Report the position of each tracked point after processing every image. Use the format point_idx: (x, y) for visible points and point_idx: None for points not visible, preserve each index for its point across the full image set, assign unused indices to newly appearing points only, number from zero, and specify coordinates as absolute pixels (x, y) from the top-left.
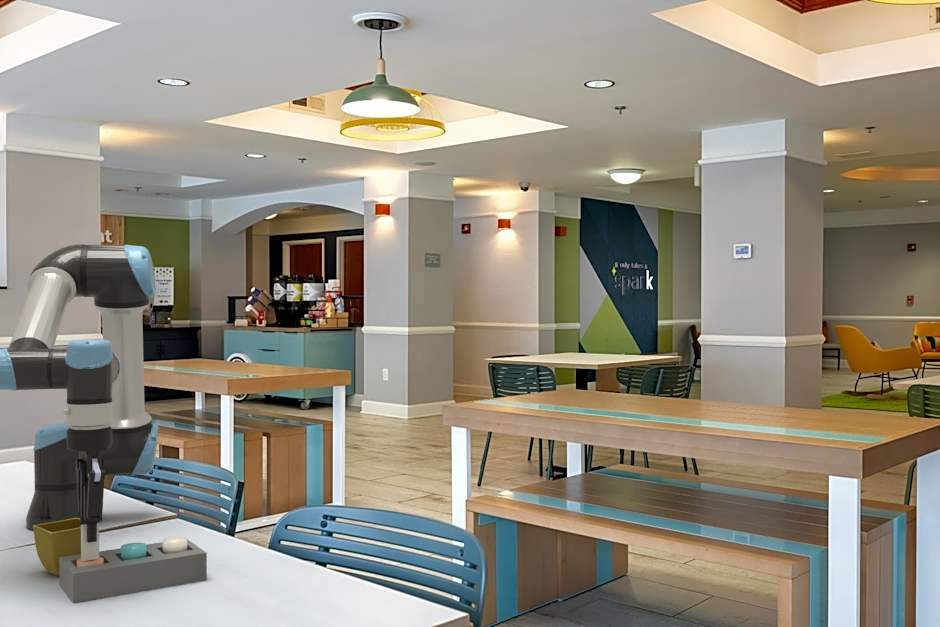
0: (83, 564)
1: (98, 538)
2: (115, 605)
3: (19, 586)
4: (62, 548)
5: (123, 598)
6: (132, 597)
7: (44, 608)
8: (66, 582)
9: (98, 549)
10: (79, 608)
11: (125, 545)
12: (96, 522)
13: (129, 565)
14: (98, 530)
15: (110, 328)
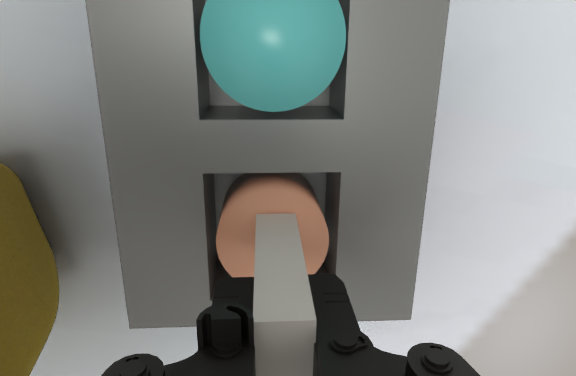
0: (312, 271)
1: (304, 262)
2: (488, 162)
3: (110, 363)
4: (28, 315)
5: (436, 122)
6: (446, 93)
7: (374, 331)
8: None
9: (299, 234)
10: (440, 256)
11: (242, 79)
12: (384, 355)
13: (435, 105)
14: (309, 288)
15: None
